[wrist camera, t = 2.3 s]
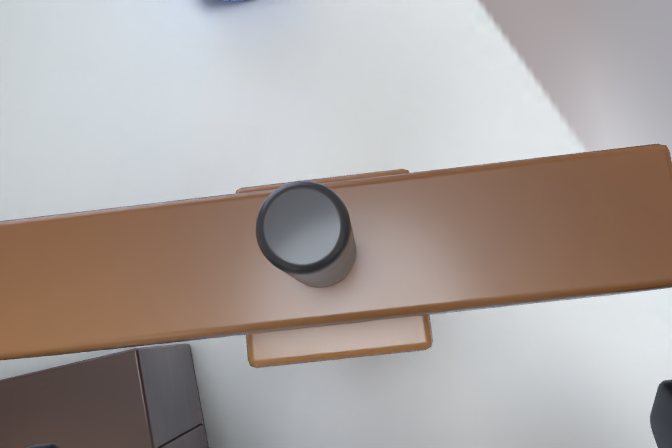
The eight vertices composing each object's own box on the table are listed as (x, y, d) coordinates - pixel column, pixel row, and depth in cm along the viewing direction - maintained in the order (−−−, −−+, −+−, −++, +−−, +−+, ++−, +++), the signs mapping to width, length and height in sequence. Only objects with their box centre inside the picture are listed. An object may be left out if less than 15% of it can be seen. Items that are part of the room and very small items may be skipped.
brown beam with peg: (473, 326, 19) (839, 327, 4) (251, 350, 20) (-169, 431, 4) (463, 257, 20) (764, 23, 5) (245, 281, 20) (-160, 137, 5)
